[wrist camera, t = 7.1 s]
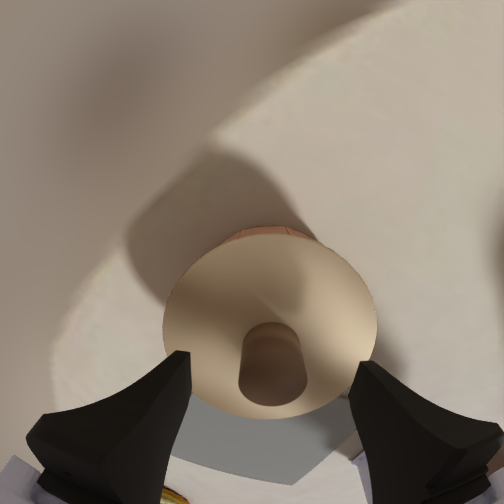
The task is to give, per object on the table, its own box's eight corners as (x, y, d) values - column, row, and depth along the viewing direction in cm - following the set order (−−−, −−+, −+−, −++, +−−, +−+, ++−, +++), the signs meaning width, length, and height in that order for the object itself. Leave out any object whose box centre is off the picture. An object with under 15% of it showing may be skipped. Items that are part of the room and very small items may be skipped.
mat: (291, 482, 25) (292, 485, 25) (164, 449, 24) (163, 452, 24) (374, 404, 21) (376, 406, 21) (211, 353, 20) (210, 356, 20)
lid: (308, 426, 17) (314, 467, 13) (147, 370, 16) (125, 409, 12) (407, 287, 14) (442, 315, 10) (211, 194, 13) (193, 198, 9)
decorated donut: (175, 511, 30) (171, 527, 26) (117, 485, 28) (111, 501, 25) (203, 499, 27) (200, 519, 24) (135, 470, 26) (128, 490, 23)
